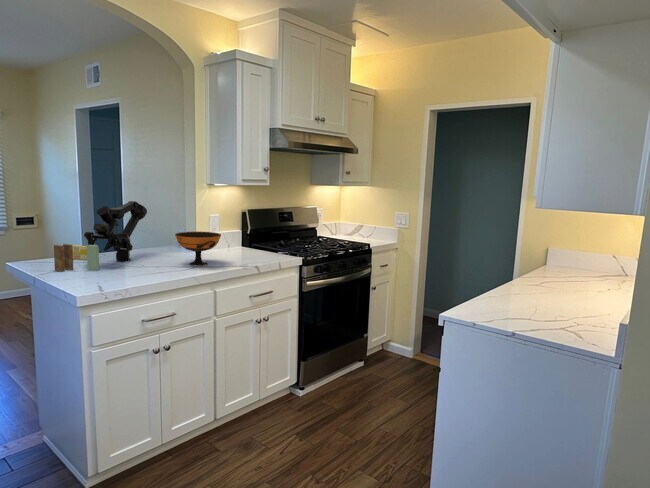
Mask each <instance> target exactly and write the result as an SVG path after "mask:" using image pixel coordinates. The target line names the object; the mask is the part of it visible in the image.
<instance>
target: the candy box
mask: <svg viewBox="0 0 650 488" xmlns="http://www.w3.org/2000/svg"><path fill="white" fill-rule="evenodd" d="M72 245H73V244H72ZM98 254H99V255H100V247H99V246H98ZM74 260H76V261H87V245H76V244H75V245H73V261H74Z"/></svg>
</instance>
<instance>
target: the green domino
mask: <svg viewBox="0 0 650 488" xmlns="http://www.w3.org/2000/svg"><path fill="white" fill-rule="evenodd" d="M86 246H87V260H86V261H87V262H86V263H87V271H96V272H97V271H100V263H99V262H100V253H99V254H98V247H99V245H97V244H94V245H88V244H87V245H86Z"/></svg>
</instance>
